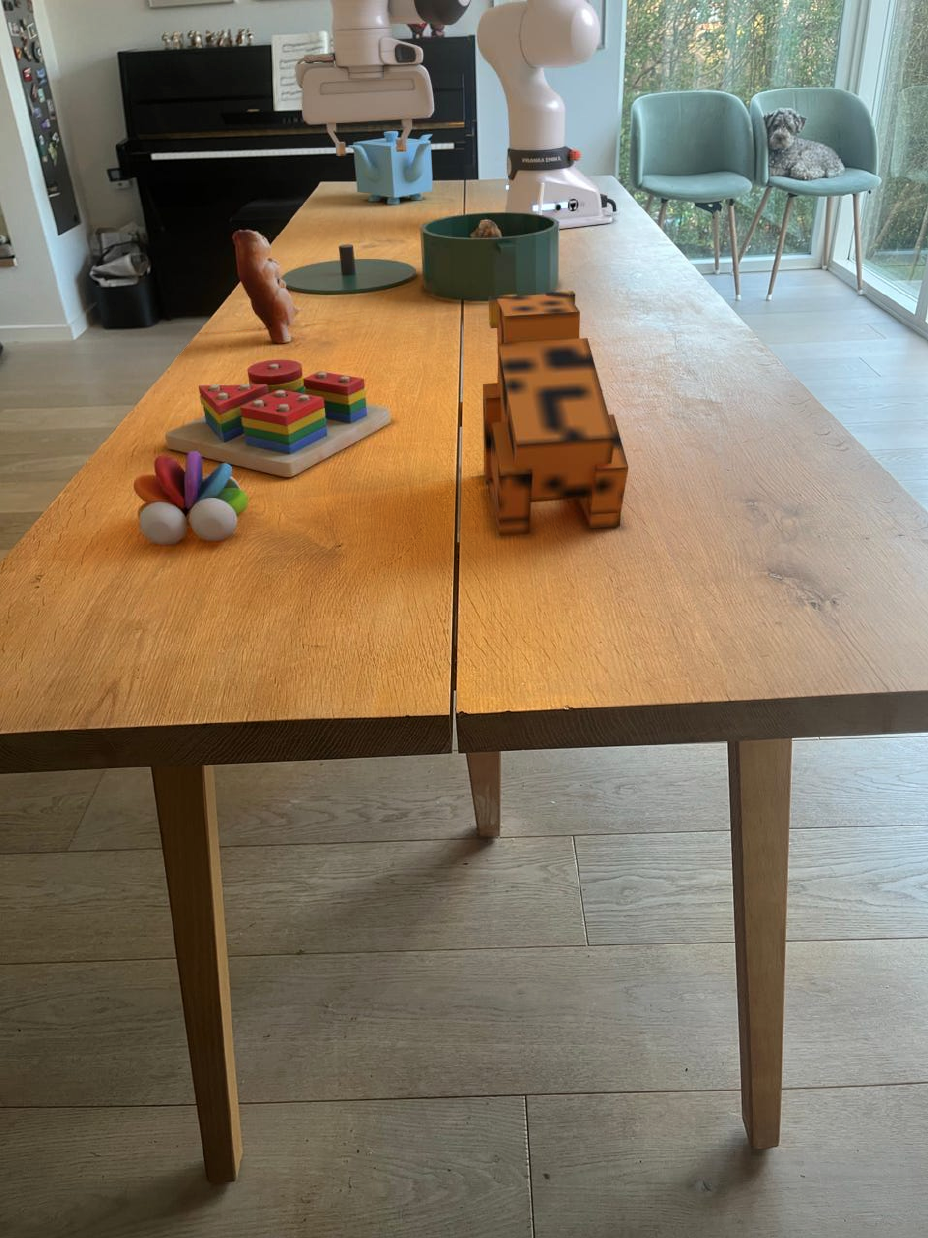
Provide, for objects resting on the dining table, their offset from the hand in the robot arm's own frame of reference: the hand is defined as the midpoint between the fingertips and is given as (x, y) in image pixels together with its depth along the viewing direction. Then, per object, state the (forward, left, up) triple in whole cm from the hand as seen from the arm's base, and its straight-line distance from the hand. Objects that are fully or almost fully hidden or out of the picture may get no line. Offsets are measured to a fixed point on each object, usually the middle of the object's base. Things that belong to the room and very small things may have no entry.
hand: (371, 153), depth 154 cm
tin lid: (+5, -3, -19) cm, 20 cm away
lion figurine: (-16, +9, -19) cm, 27 cm away
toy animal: (-6, +88, -20) cm, 90 cm away
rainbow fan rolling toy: (+26, +87, -20) cm, 93 cm away
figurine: (+18, +29, -20) cm, 40 cm away
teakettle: (-13, -81, -20) cm, 84 cm away
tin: (-17, +9, -20) cm, 27 cm away
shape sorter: (+18, +66, -20) cm, 71 cm away
